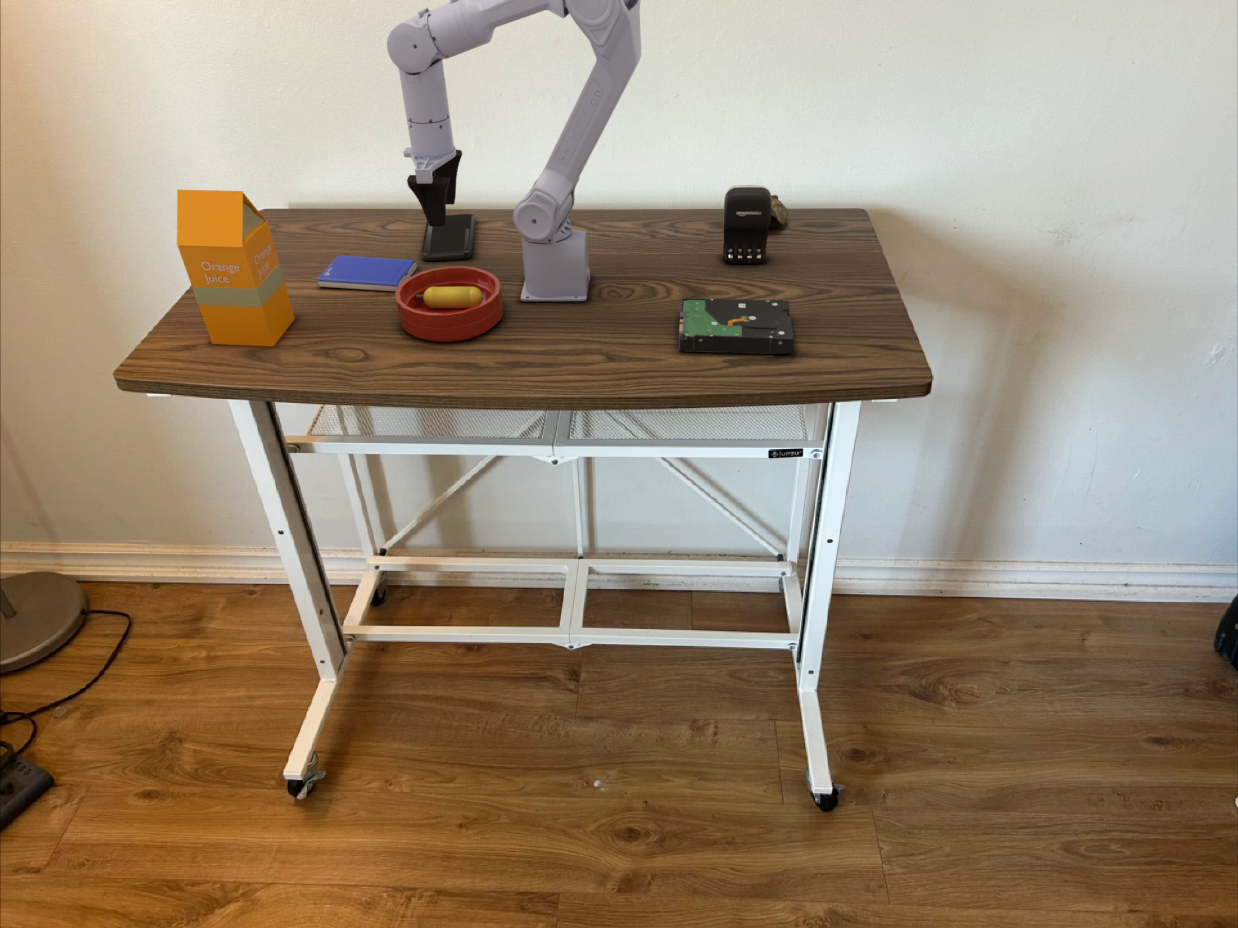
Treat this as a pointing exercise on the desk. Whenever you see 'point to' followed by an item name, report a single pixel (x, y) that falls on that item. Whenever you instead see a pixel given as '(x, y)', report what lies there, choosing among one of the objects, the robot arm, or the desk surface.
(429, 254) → the phone
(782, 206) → the fossilized seashell
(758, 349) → the disk drive
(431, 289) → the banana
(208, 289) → the orange juice
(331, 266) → the blue book
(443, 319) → the bowl
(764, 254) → the battery charger
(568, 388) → the desk surface
